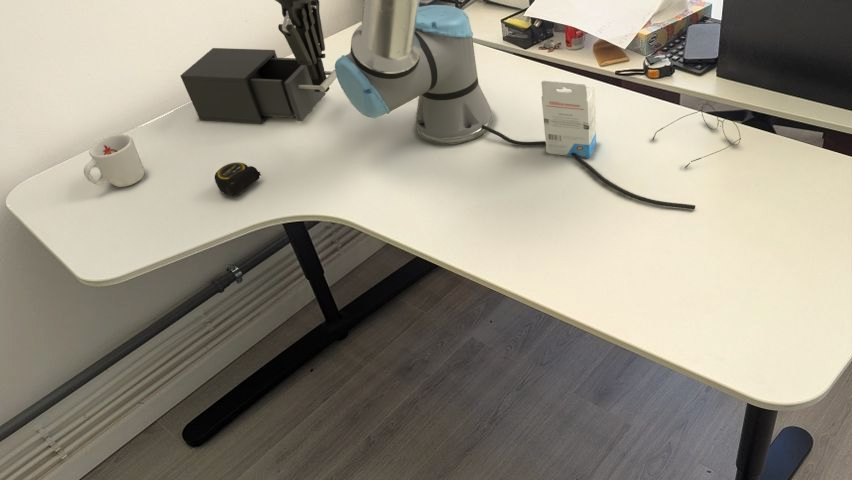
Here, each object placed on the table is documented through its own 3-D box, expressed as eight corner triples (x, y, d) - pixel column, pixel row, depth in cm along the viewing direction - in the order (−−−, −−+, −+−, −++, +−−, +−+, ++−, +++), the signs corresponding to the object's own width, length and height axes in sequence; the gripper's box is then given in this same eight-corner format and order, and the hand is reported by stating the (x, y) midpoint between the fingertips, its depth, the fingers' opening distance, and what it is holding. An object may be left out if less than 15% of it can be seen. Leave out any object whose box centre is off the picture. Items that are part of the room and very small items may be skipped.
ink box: (597, 144, 135) (596, 71, 125) (589, 159, 131) (587, 85, 121) (553, 139, 137) (549, 67, 127) (545, 153, 134) (539, 80, 124)
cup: (109, 203, 137) (88, 168, 132) (88, 191, 141) (67, 157, 136) (157, 174, 143) (140, 139, 138) (136, 163, 147) (117, 129, 142)
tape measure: (237, 202, 133) (229, 185, 131) (212, 192, 136) (205, 176, 134) (264, 182, 137) (257, 165, 135) (239, 173, 140) (233, 157, 138)
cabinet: (289, 94, 162) (274, 49, 155) (261, 124, 154) (244, 78, 147) (230, 91, 167) (212, 47, 159) (199, 120, 158) (179, 75, 151)
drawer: (351, 95, 157) (341, 57, 151) (328, 123, 149) (316, 84, 143) (268, 91, 163) (255, 54, 157) (242, 117, 155) (227, 80, 149)
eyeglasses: (688, 171, 126) (690, 146, 122) (648, 138, 134) (649, 114, 131) (742, 151, 128) (746, 126, 125) (700, 120, 137) (702, 96, 133)
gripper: (286, -38, 140) (320, 74, 156) (252, -11, 131) (292, 105, 147) (320, -39, 138) (351, 75, 154) (288, -11, 129) (324, 106, 145)
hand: (322, 90), depth 151 cm, fingers closed
